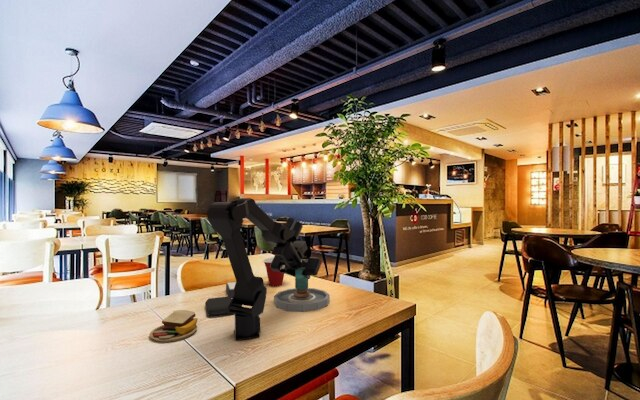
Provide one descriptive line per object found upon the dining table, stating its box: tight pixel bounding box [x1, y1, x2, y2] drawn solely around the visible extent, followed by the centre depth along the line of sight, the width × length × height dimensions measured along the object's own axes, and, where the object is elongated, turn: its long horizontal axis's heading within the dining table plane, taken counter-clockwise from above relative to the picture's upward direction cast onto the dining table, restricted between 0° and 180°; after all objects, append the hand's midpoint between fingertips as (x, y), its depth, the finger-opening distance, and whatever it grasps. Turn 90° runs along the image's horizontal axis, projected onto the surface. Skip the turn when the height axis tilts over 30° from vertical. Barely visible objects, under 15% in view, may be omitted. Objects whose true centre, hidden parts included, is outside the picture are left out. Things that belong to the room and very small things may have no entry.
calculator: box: [225, 281, 268, 299], centre depth 133 cm, size 11×4×15 cm
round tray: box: [273, 287, 331, 313], centre depth 120 cm, size 20×20×2 cm
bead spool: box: [294, 258, 310, 298], centre depth 120 cm, size 6×6×13 cm
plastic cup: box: [262, 256, 285, 287], centre depth 144 cm, size 11×11×12 cm
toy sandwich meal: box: [149, 309, 199, 343], centre depth 93 cm, size 12×14×5 cm
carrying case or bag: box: [204, 296, 234, 318], centre depth 113 cm, size 11×3×15 cm
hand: (303, 277), depth 121 cm, fingers closed on bead spool, 5 cm apart
